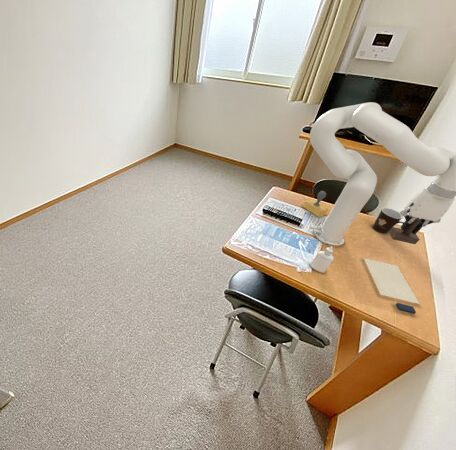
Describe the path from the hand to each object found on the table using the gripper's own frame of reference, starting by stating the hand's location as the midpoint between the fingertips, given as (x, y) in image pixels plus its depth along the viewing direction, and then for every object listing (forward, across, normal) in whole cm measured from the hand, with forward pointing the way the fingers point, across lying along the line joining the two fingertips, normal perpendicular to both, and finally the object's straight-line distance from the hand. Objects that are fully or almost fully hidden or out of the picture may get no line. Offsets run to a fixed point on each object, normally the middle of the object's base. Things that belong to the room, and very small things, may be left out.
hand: (407, 230), depth 106 cm
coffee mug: (+17, -8, -25) cm, 31 cm away
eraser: (+17, +2, +27) cm, 32 cm away
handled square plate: (+4, 0, 0) cm, 4 cm away
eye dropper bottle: (+17, +29, +16) cm, 37 cm away
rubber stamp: (+17, +23, -30) cm, 42 cm away
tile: (+17, +2, +12) cm, 21 cm away
